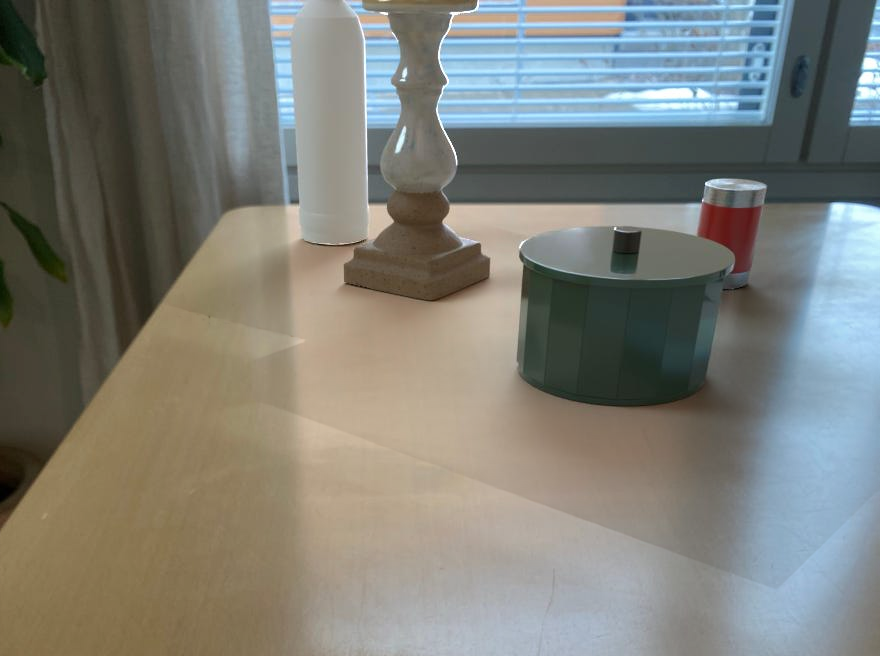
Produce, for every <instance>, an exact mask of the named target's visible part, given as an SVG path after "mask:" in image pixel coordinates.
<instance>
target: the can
mask: <svg viewBox="0 0 880 656" xmlns="http://www.w3.org/2000/svg"><path fill="white" fill-rule="evenodd" d="M767 189H768V185H767V183H766V184H765V183H763V182H761V181H757V180H751V179H746V178H745V179H743V178H716V179H710V180H708V181H706V182H705V185H704V191H703V196H702V200H701V205H700V211H699V218H698V222H697V230H696V234H695V236H698V237H702V238H705V239H709V240H711V241H714V242H717V243H719V244H721V245H723V246H725V247H726V248H728V249H729V250H731V251H732V252H733V254H734V256H735V264H734V268H733V270H732V271H731V272H730V273H729V274H728V275H726V276H725V279H724V284H723V289H729V290H735V289H734V288H739V287H743V286H745V285H746V284H747V283H749V278H750V274H751V273H750V272H751V269H752V267H753V260H754V255H755V250H756V246H757V241H758V237H759V231H760V225H761V221H762V217H763V211H764V205H765V198H766V195H767ZM747 285H748V284H747ZM747 285H746V286H747ZM746 286H745V287H746ZM732 288H733V289H732ZM743 288H744V287H743ZM739 289H740V288H739Z"/></svg>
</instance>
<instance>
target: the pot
mask: <svg viewBox="0 0 880 656" xmlns="http://www.w3.org/2000/svg"><path fill="white" fill-rule="evenodd" d="M521 275H522V277H521V292H520V307H519V321H518V332H517V333H518V335H517V348H516V349H517V350H516V362H517V369H518V370H517V371H518V374H519V375H520V376H521V378H522V379H523V380H524V381H525V382H526V383H528V384H529V385H531V386H532V387H534V388H536V389H538V390H540V391H542V392H545V393H547V394H550V395H553V396H555V397H559V398H563V399H566V400H571V401H576V402H580V403H586V404H592V405H593V404H594V405H604V406H619V407H637V406H653V405H660V404H666V403H671V402H675V401H680V400H682V399H684V398H687V397H690V396H692V395H694V394H696V393H697V392H698V391H699V390H701V389H702V387H703V386H704V385H705V383H706V379H707V375H708V370H709V363H710V360H711V359H710V358H711V354H712V348H713V344H714V338H715V332H716V327H717V321H718V315H719V311H720V305H721V301H722V295H723V291H724V290H723V284H724V279H725V276H724V277H723V278H720V279H718V280H715V281H711V282H708V283H704V284H699V285H693V286H686V287H676V288H660V289H631V288H613V287H603V286H594V285H587V284H580V283H575V282H569V281H565V280H561V279H557V278H553V277H550V276H547V275H544V274H541V273H539V272H536V271H534V270H532V269H530V268H528V267H527V266H526V265H524V264H523V263H522V274H521Z"/></svg>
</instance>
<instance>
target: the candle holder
mask: <svg viewBox="0 0 880 656" xmlns="http://www.w3.org/2000/svg"><path fill="white" fill-rule="evenodd" d="M361 7H362V9H363V10H364V11H367V12H369V13H379V14H383V15H386V17H387V19H388V23H389V28H390V30H391V33H392V34H393V36H394V37H395V39H396V41H397V43H398V48H399V51H400V52H399V53H400V56H399V62H398V65H397V68H396V70H395V72H394V74H393V75H392V77H391V78H390V84H391V85H392V86H393V87H394V88H395V90H396V91H395V94H396V95H397V97H398V100H399V103H400V115H399V117H398V120H397V123H396V125H395V127H394V129H393V132H392V133H391V135H390V137H389V139H388V140H387V142H386V144H385V146H384V148H383V151H382V153H381V156H380V161H379V168H380V173H381V176H382V177H383V179H384V180H385V182H386V183H387V184H388V185H390V186H391V187H392V188H394V192H393V193H392V194H391V196H389V199H388V200H387V203H386V211H387V214H388V215H389V217H390V218H391V219H392V221H393V222H392V223H391V224H389V225H388V226H387V227H385V228H384V229H383V230H381V232H380V233H379V234H378V235H377V236H376V238H374V239H371V240H368V241H366V242H364V243H363V242H362V243H361V244H359V245H357V246H355V247H354V249H353V250H352V252H353V257H352V258H351V259H350V260H348V261H347V262H345V263H344V264H343V283H344V282H346V283H345V284H347V283H350V284H349V285H351V284H354V285H353V286H355V285H358V286H357V287H360V286H363V287H362V288H364V287H367V288H366V289H369V288H370V289H369V290H376V291H379V292H385V293H388V294H389V293H390V294H394V295H398V296H399V295H400V296H403V297H408V298H414V299H419V300H425V301H435V300H438V299H441V298H444V297H446V296H449V295H450V294H454V293H456V292H458V291H461V290H462V289H465V288H467V287H469V286H471V285H474V284H476V283H479V282H481V281H483V280H486V279H487V278H489V277H490V276H491V257H490V256H488V255H486V254H484V253H483V252H482V244H481V243H480V241H477V240H473V239H468V238H464V237H460V236H459V235H458V234H457V233H456V232H455V231H454V230H453V229H452V228H450V227H449V226H448V225H446V224H445V223H444V222H443V221H444V220H445V218H446V217H447V216H448V214H449V213H450V208H451V207H450V206H451V204H450V201H449V199H448V198H447V195H445V194H444V192H443V189H444V188H445V187H447V186H448V185H449V184H450V183H451V182H452V181H453V180H454V178H455V176H456V174H457V170H458V159H457V155H456V151H455V148H454V147H453V145H452V142H451V141H450V139H449V137H448V135H447V133H446V131H445V130H444V127H443V124H442V122H441V120H440V117H439V113H438V104H439V101H440V99H441V97H442V95H443V92H444V91H443V90H444V88H445V87H446V86H447V85H448V84H449V79H448V76H447V75H446V74H445V72H444V70H443V67H442V64H441V61H440V51H441V46H442V43H443V40H444V38H445V37H446V35H447V34H448V32H449V31H450V29H451V24H452V19H453V18H454V16H455V15H458V14H460V13H461V14H462V13H463V14H464V13H471V12H474V11H476V10H478V8H479V0H361Z"/></svg>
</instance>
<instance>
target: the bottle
mask: <svg viewBox="0 0 880 656" xmlns="http://www.w3.org/2000/svg"><path fill="white" fill-rule="evenodd" d="M359 17H360V16H359V15H358V14H357V13H356V11H354V9H353V8H352V7H351V6H350V4H348V2H347V1H346V0H307V1H306V2H305V3H304V5H303V6H302V7H301V8H300V10H299V11H298V12H297V14H296V15H295V16H294V20H293V24H292V29H291V33H290V38H289V44H290V62H291V80H292V97H293V98H292V99H293V114H294V115H293V116H294V132H295V133H294V134H295V151H296V152H295V153H296V168H297V169H296V170H297V186H298V188H297V189H298V205H299V207H298V220H299V226H300V237H301V239H302V240H303V239H304V240H307V241H309V242H316V243H330V244H339V243H351V242H356V241H360V240H363V239H365V238H367V237H368V238H369V236H368V235H370V232H369V231H370V230H369V229H370V228H369V227H370V226H369V225H370V207H369V180H368V179H369V177H368V175H369V172H368V171H369V170H368V125H367V124H368V123H367V122H368V121H367V119H368V118H367V116H368V115H367V69H366V67H367V66H366V65H367V64H366V63H367V62H366V60H367V59H366V38H365V34H364V30H363V27H362V24H361V20H360V18H359ZM368 238H367V239H368ZM304 240H303V241H304Z"/></svg>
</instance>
